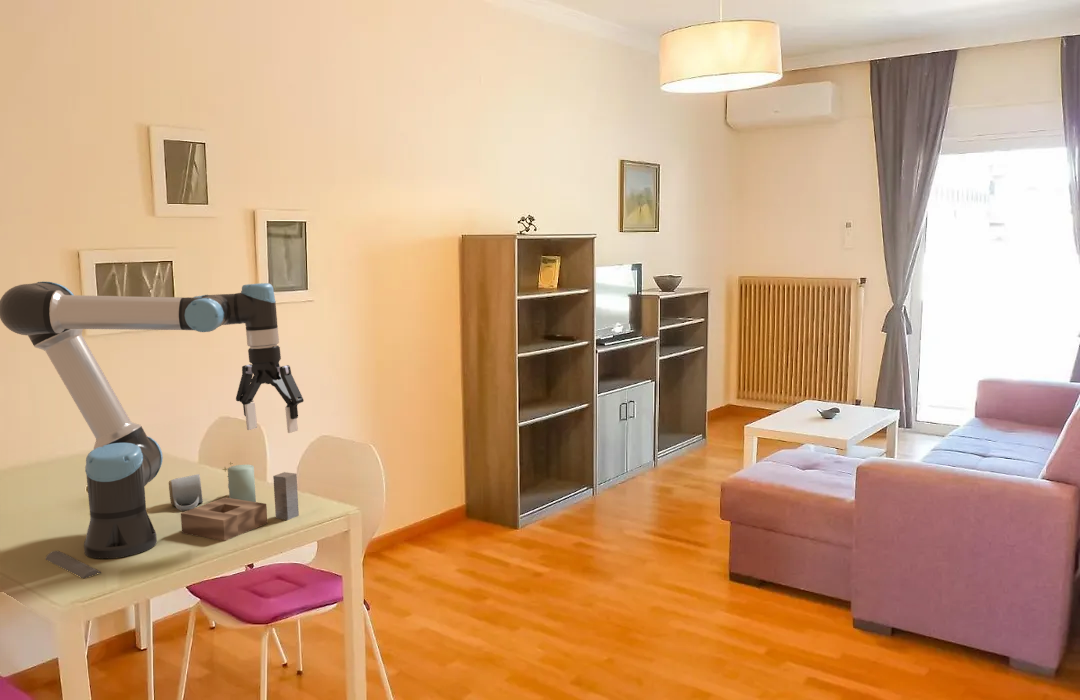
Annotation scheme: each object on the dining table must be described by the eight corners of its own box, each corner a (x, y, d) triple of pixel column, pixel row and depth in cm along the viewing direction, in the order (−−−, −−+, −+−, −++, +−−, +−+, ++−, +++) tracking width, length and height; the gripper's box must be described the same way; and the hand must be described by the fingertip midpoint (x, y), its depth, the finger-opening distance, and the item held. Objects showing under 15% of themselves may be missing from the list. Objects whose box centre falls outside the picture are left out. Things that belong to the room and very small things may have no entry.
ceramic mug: (169, 502, 236) (167, 474, 235) (202, 498, 239) (200, 471, 238) (171, 513, 227) (168, 485, 225) (204, 509, 230) (202, 481, 229)
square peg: (287, 520, 219) (285, 477, 218) (275, 518, 221) (273, 476, 219) (298, 515, 223) (296, 473, 221) (286, 513, 224) (284, 472, 223)
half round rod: (82, 582, 182) (82, 573, 182) (44, 561, 195) (43, 554, 194) (103, 575, 186) (102, 567, 185) (64, 556, 198) (63, 548, 198)
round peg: (243, 513, 225) (240, 472, 224) (224, 510, 228) (222, 469, 227) (261, 506, 231) (259, 465, 230) (243, 503, 234) (240, 463, 233)
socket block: (224, 540, 204) (223, 520, 204) (182, 533, 210) (180, 513, 210) (267, 523, 217) (266, 503, 216) (225, 516, 223) (224, 497, 222)
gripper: (312, 344, 212) (320, 429, 214) (238, 343, 223) (247, 424, 226) (291, 348, 205) (299, 436, 208) (215, 347, 217) (224, 431, 219)
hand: (272, 430), depth 217 cm, fingers open, 13 cm apart
